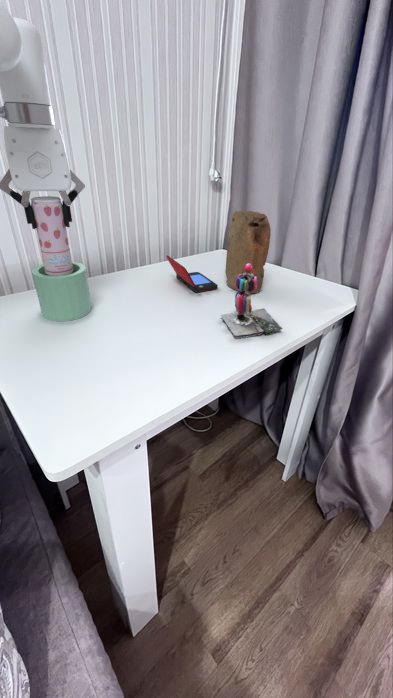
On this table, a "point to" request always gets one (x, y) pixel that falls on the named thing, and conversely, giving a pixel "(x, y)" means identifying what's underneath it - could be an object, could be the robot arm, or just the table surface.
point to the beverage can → (52, 235)
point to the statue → (248, 310)
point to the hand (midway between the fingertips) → (50, 225)
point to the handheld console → (192, 278)
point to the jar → (63, 293)
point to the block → (247, 246)
